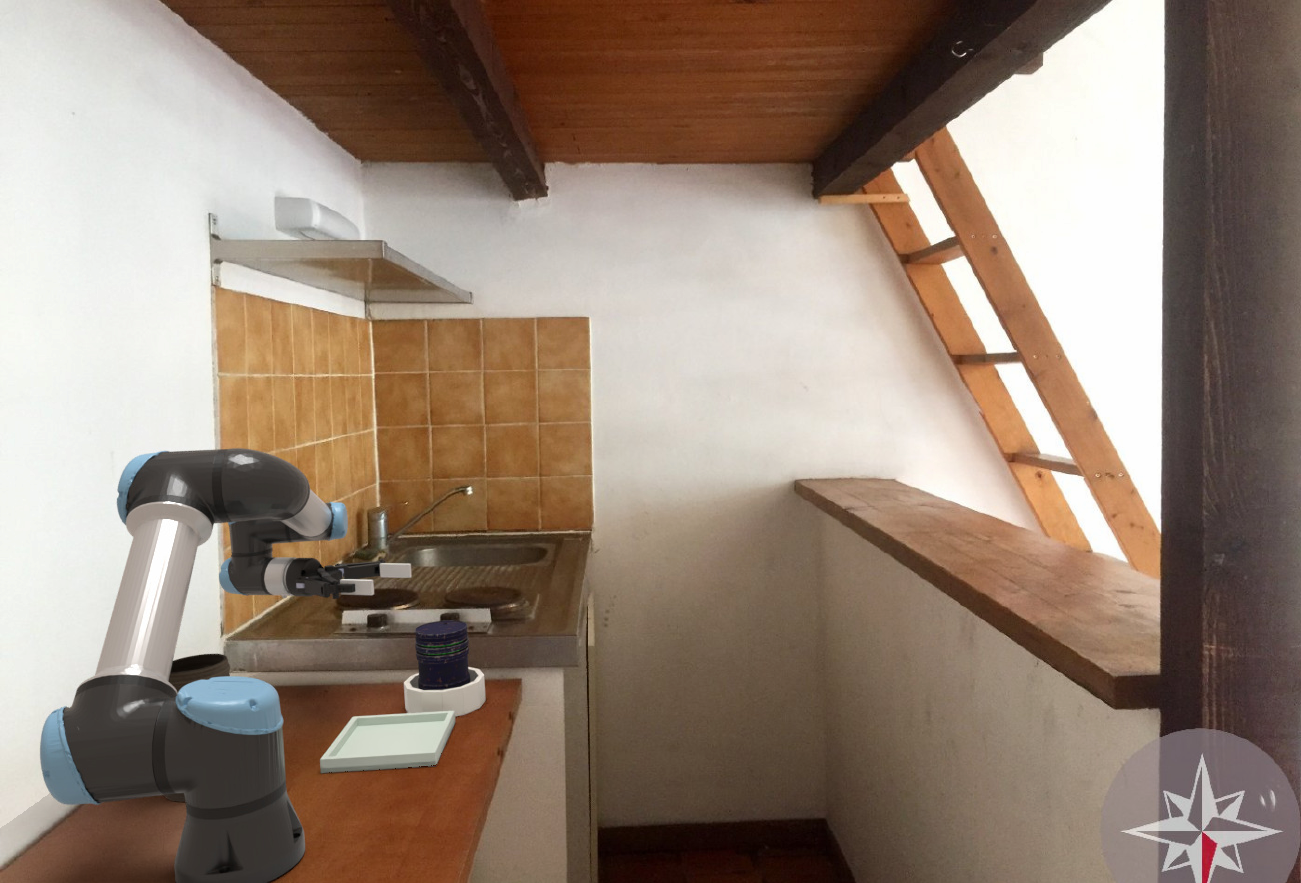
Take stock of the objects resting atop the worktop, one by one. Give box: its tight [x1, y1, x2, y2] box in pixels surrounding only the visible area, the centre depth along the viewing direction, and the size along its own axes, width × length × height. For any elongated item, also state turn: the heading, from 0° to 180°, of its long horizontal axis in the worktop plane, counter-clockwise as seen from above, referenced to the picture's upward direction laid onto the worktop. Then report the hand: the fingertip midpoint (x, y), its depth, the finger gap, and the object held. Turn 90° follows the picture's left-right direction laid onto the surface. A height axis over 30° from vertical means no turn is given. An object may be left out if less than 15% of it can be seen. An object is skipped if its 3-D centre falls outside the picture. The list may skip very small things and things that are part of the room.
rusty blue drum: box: [414, 619, 471, 690], centre depth 166 cm, size 10×10×15 cm
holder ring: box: [403, 666, 487, 718], centre depth 166 cm, size 14×14×5 cm
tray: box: [319, 711, 456, 774], centre depth 147 cm, size 18×18×2 cm
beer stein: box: [163, 653, 231, 803], centre depth 135 cm, size 15×11×20 cm
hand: (392, 578), depth 167 cm, fingers open, 13 cm apart
